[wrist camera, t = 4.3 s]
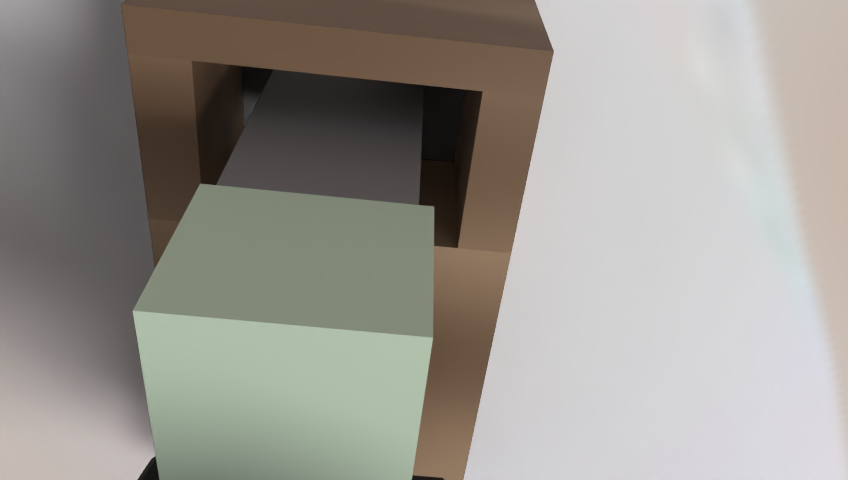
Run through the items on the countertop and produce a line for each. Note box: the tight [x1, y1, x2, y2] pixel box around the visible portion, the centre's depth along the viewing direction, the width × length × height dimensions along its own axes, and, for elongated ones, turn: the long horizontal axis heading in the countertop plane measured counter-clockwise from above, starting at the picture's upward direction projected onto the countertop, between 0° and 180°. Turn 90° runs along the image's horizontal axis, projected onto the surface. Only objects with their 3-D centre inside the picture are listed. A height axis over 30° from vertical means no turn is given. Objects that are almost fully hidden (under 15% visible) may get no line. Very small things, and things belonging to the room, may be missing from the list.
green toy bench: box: [133, 69, 434, 480], centre depth 13 cm, size 10×3×6 cm, turn 174°
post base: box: [121, 0, 554, 480], centre depth 15 cm, size 13×6×3 cm, turn 174°
